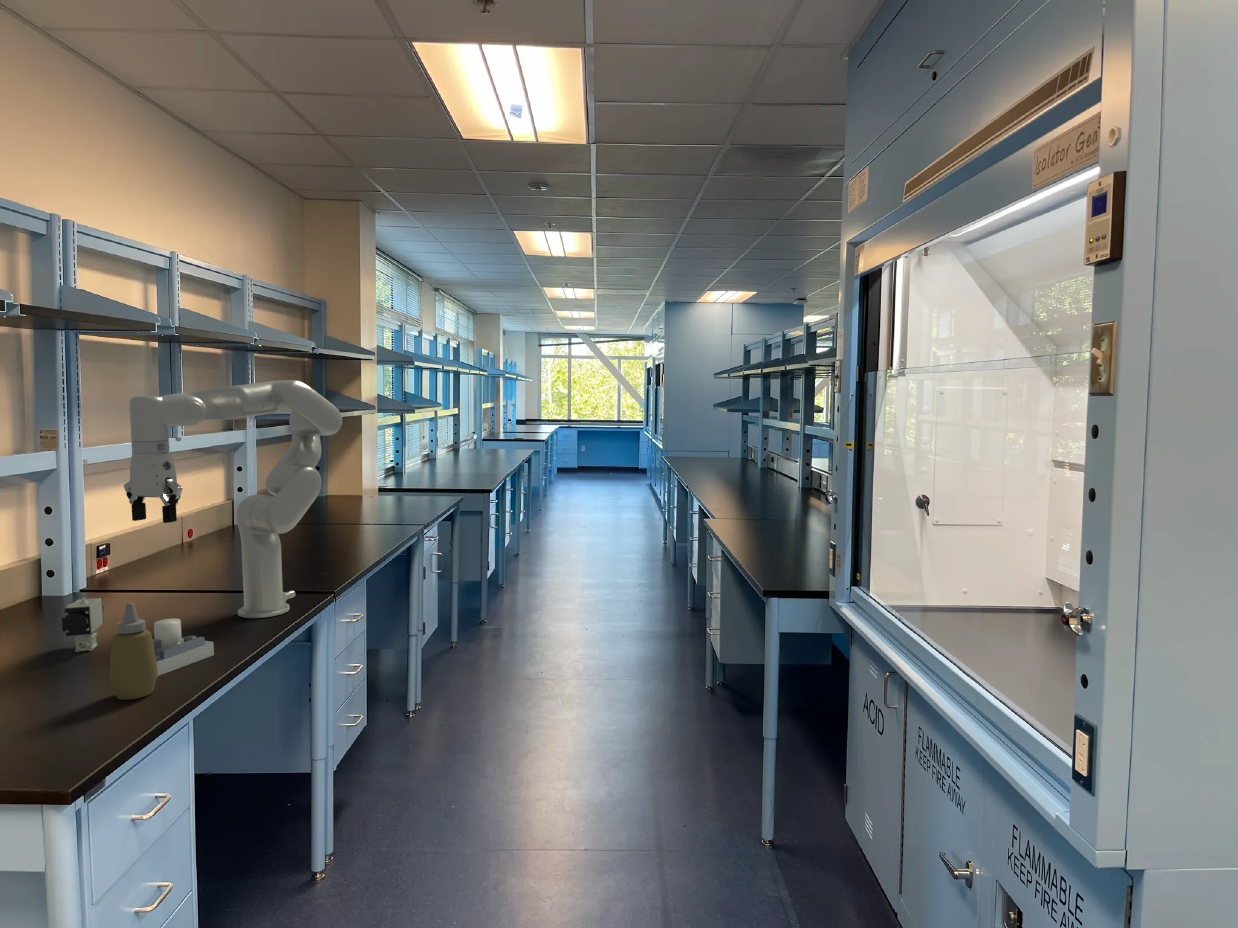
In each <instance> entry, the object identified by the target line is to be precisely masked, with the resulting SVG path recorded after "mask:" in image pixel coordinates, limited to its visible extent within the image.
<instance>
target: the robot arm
mask: <svg viewBox="0 0 1238 928" xmlns="http://www.w3.org/2000/svg"><path fill="white" fill-rule="evenodd" d="M128 405H129V421H130V438H131V443H130V444H131V458H130V467H129V468H130V469H129V481H127V482H126V483H124V484H123V488H124V490H125V495H126V497H127V498H128V503H129V504H130V505H131V518H132V519H131V520H132V521H134V522H137V521H142V520H144V521H145V520H146V519H147V506H146V505H147V504H146V502H144V501H145V499H146V498H159V499H160V500H161V502H162V504H163V505H162V507H161V508H162V509H161V510H162V511H161V512H162V523H164V524H168V523H174V522H177V520H178V519H177V518H178V517H177V505H179V504H178V503H179V500H180V499H181V497H182V496H181V495H182V492H183V486H182V485H181V484H179V483H178V478H177V472H176V466H175V461H174V458H173V455H172V454H170V448H171V447H170V438H169V437H170V435H169V426H174V427H193V426H196V425H199V424H200V423H201V422H203V421H208V420H237V419H239V420H241V419H247V418H252V417H257V416H265V415H270V414H277V413H284V412H285V413H286V412H287V413H290V414H289V419H288V420H289V427H290V430H291V443H290V446H289V447H288V449H287V450H286V452H285V453H284V454H283V455H282V457H281V458H280V459H279V461H278V462H277V463H276V464H275V465H274V467H273V468H272V470H270V472H269V473H268V474H267V477H266V480H265V482H264V484H265V489H266V490H267V492H268V493H270V495H266V494H252V495H249V496H247V497H244V498H242V500H241V501H240V502H239V504H238V506H237V508H236V513H235V515H236V516H235V517H236V522H237V523H236V524H237V527H238V530H239V535H240V536H239V537H240V542H241V543H240V544H241V564H242V565H241V566H242V567H241V568H242V587H243V588H242V589H243V606H242V607H240V608H239V609H238V610H237V615H238V616H239V617H241V618H245V619H262V618H271V617H275V616H276V617H277V616H279V615H283V614H286V613H287V612H289V610H290V604H289V603H287V600H288V599H289V600H290V599H292V598H294V597H296V592H295V591H294V590H289V591H283V569H282V568H283V566H282V543H281V539H280V535H282V534H286V533H288V532H290V531H291V530H293V529H294V528H295V527H296V526H297V524H298V523H299V522H300V521H301V519H302V518H303V517H304V515H305V514H306V513H307V511H308V510H309V509H310V507H311V506H312V505H313V503H314V502H315V500H316V499H317V497H318V495H319V494H320V491H321V487H322V476H321V474H320V472H319V471H318V470H317V468H316V466H317V465H318V463H319V461H320V460H321V457H322V442H321V437H320V436H323V437H324V436H326V437H327V436H332V435H335V434H336V433H338V431H340V429H341V428H342V424H343V417H342V414H341V412H340V410H339V409H338V407H336V406H335V405H334V404H333V403H332V402H330V401H329V400H328V399H326V398H325V397H324V396H322V395H321V394H320V393H318V391H316V390H315V389H313V388H312V387H310V385H308V384H306V383H304V382H303V381H300V380H297V379H286V380H285V379H283V380H269V381H262V382H255V383H254V382H253V383H245V384H238V385H237V384H236V385H230V386H224V387H217V388H211V389H203V390H195V391H185V392H180V393H172V394H170V393H169V394H165V395H162V396H161V395H137V396H136V395H135V396H132V397H131V398H130V400H129V404H128Z"/></svg>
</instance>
